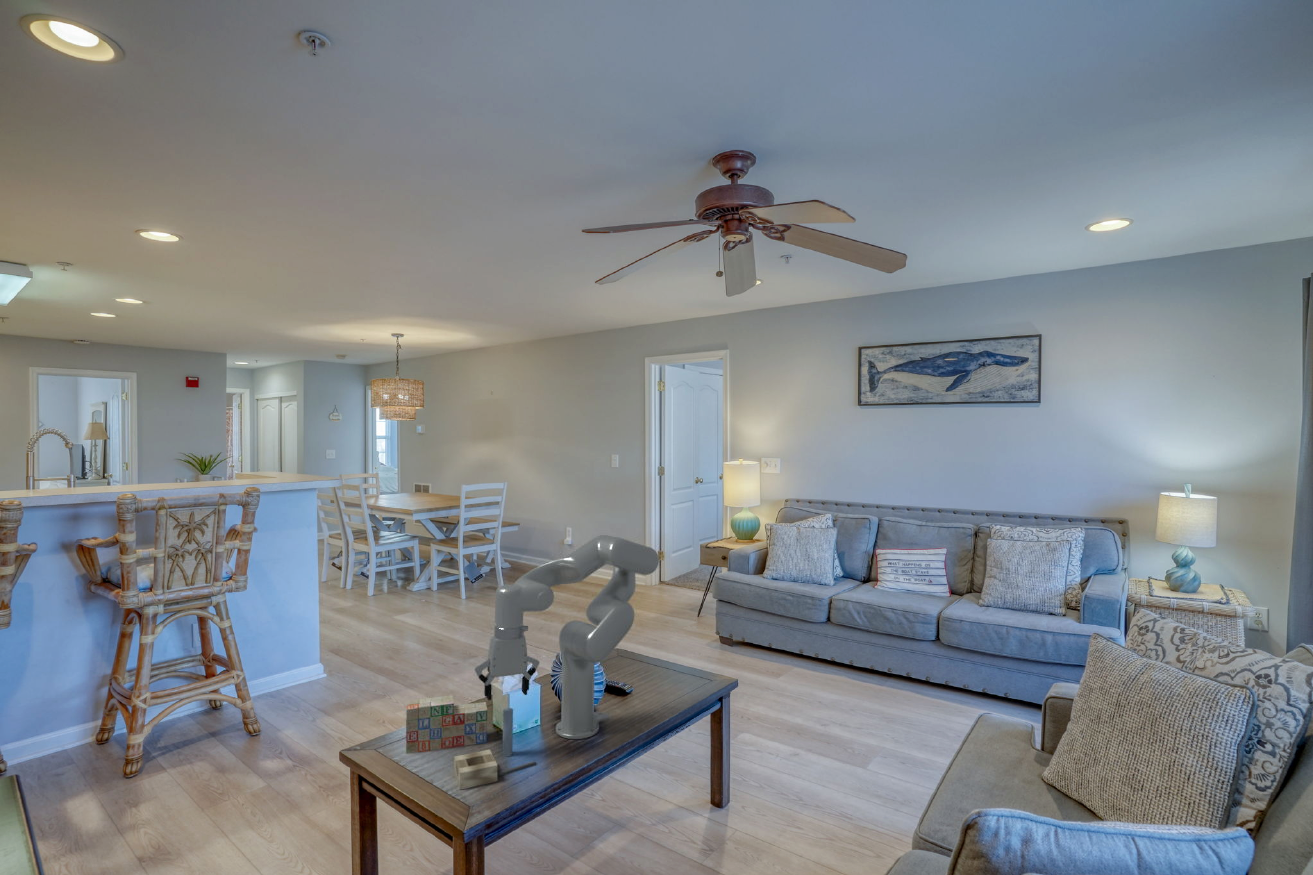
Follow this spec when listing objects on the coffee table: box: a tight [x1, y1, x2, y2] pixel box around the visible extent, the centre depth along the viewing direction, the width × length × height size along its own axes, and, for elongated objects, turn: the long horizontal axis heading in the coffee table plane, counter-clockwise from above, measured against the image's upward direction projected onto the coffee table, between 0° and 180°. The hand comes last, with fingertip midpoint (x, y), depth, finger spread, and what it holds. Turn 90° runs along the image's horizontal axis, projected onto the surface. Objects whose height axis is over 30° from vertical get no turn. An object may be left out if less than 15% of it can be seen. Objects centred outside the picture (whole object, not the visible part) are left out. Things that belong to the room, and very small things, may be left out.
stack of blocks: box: [405, 694, 488, 755], centre depth 178 cm, size 21×6×12 cm, turn 109°
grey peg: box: [502, 707, 514, 758], centre depth 171 cm, size 3×3×12 cm
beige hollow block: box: [453, 749, 498, 791], centre depth 160 cm, size 9×9×4 cm
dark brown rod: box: [498, 760, 537, 777], centre depth 164 cm, size 10×1×1 cm, turn 127°
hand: (506, 695), depth 171 cm, fingers open, 9 cm apart
